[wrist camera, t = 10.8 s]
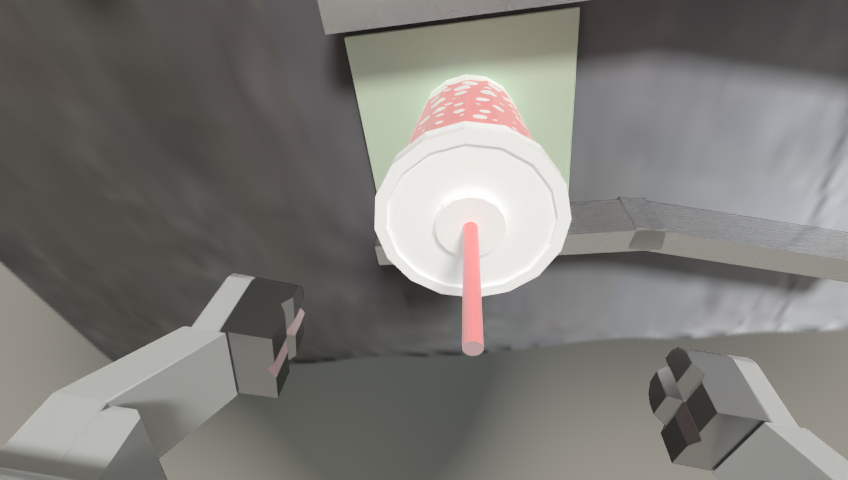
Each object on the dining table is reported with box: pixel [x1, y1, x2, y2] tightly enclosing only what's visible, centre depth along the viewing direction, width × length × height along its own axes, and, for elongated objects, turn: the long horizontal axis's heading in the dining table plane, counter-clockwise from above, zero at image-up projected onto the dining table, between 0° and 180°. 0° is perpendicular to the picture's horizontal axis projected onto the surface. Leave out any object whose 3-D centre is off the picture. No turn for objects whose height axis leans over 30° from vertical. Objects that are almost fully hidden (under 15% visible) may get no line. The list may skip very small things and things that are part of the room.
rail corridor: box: [317, 0, 848, 282], centre depth 20 cm, size 28×16×3 cm, turn 82°
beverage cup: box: [375, 74, 572, 356], centre depth 15 cm, size 6×6×14 cm
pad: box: [344, 7, 580, 191], centre depth 21 cm, size 10×9×1 cm
